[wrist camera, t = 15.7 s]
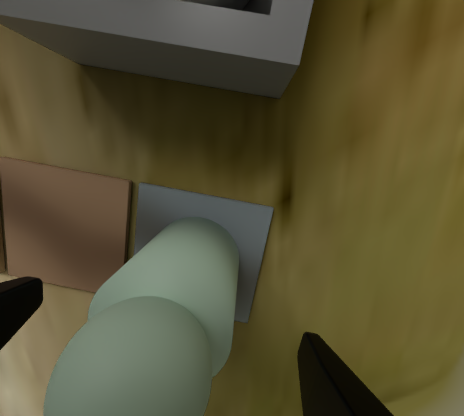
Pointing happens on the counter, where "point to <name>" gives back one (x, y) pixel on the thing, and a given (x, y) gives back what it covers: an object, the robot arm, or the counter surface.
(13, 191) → the game track
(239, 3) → the dome
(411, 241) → the counter surface
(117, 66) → the grey square tray
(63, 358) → the pawn
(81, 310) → the counter surface
